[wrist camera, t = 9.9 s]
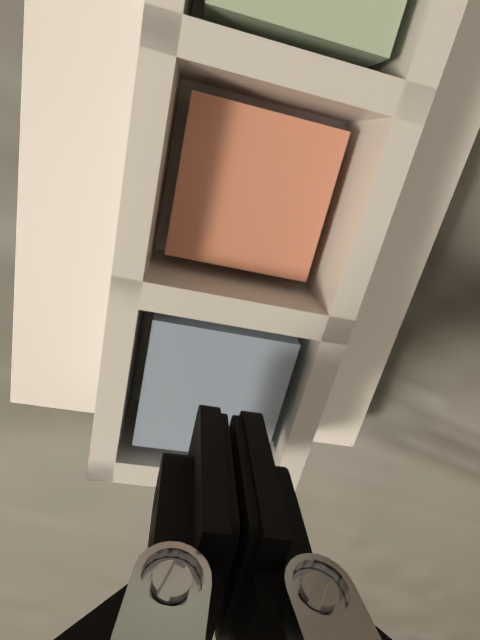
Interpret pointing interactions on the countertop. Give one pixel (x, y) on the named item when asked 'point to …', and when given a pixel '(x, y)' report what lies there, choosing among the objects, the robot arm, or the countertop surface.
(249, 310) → the white compartment tray
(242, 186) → the key
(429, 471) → the countertop surface
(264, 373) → the key
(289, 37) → the key
